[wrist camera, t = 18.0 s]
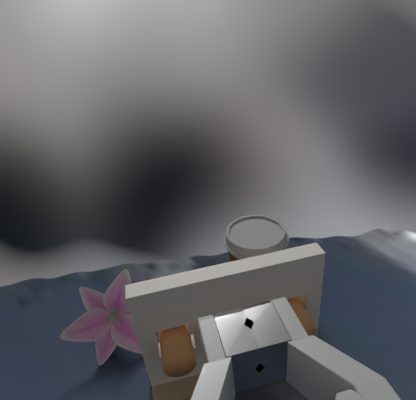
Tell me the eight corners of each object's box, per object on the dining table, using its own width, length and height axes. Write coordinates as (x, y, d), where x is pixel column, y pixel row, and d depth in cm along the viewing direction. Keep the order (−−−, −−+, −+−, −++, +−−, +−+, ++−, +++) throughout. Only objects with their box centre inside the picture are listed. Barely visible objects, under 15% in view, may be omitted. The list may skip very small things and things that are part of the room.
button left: (165, 380, 37) (160, 360, 35) (159, 332, 42) (154, 312, 41) (198, 372, 37) (194, 351, 36) (188, 325, 43) (184, 305, 41)
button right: (286, 348, 39) (287, 327, 37) (266, 306, 44) (265, 286, 43) (316, 340, 39) (318, 319, 38) (291, 300, 45) (292, 279, 43)
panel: (154, 410, 40) (125, 317, 32) (150, 359, 46) (125, 270, 38) (325, 362, 44) (337, 267, 36) (300, 320, 50) (306, 230, 42)
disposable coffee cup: (297, 305, 52) (300, 242, 46) (237, 320, 51) (232, 257, 45) (273, 265, 60) (273, 208, 54) (221, 277, 59) (215, 219, 53)
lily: (61, 360, 49) (46, 347, 41) (91, 283, 56) (83, 259, 48) (143, 377, 49) (144, 368, 41) (163, 299, 56) (167, 278, 48)
